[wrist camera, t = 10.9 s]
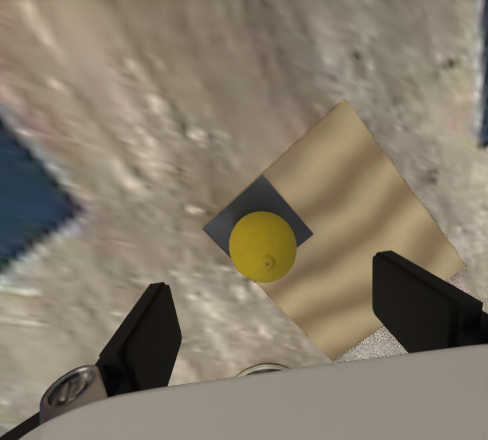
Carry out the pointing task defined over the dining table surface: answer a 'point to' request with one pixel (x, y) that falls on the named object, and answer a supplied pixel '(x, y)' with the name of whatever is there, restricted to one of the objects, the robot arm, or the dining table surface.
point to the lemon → (262, 247)
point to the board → (338, 228)
